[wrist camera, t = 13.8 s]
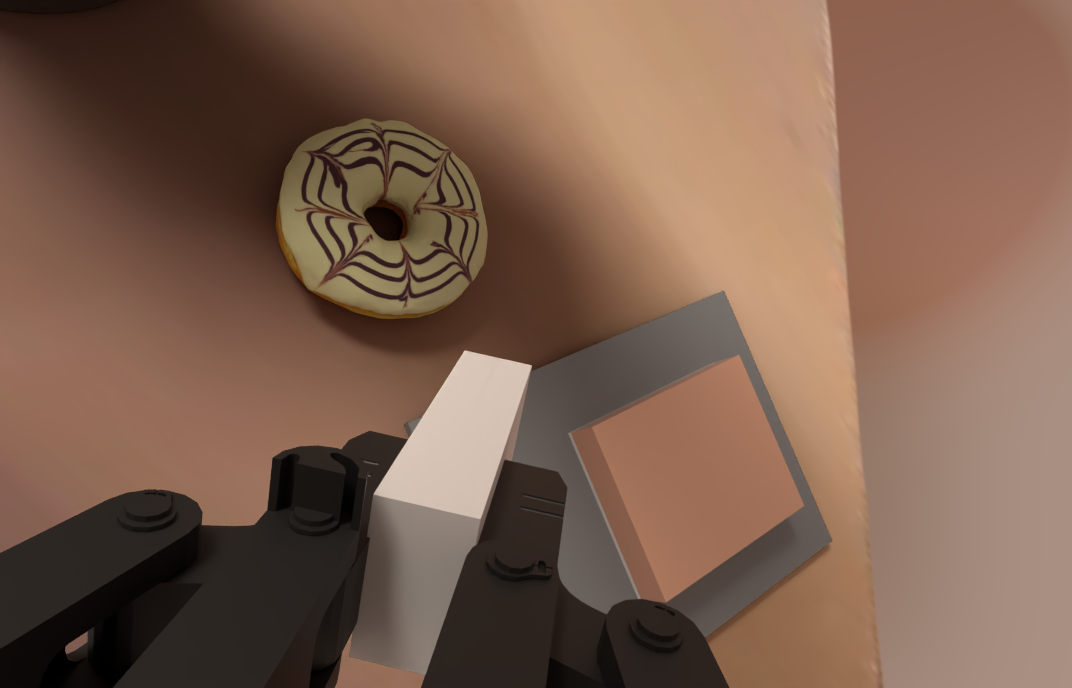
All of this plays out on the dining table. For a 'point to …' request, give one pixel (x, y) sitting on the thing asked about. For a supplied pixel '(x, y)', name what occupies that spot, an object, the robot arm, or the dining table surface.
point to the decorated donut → (350, 242)
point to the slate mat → (614, 381)
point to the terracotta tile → (686, 477)
